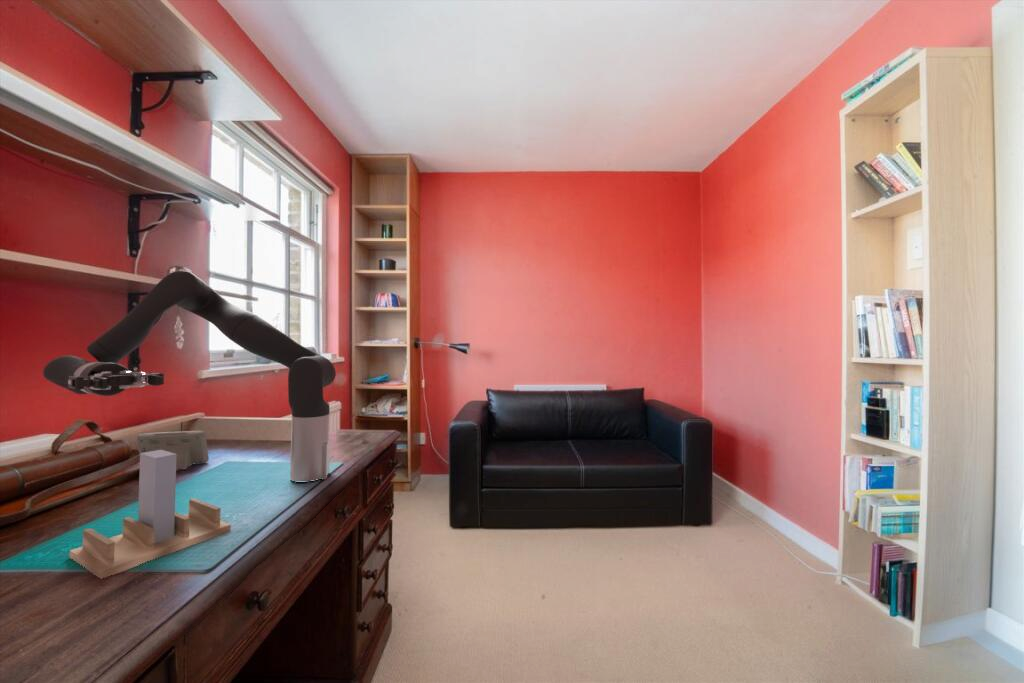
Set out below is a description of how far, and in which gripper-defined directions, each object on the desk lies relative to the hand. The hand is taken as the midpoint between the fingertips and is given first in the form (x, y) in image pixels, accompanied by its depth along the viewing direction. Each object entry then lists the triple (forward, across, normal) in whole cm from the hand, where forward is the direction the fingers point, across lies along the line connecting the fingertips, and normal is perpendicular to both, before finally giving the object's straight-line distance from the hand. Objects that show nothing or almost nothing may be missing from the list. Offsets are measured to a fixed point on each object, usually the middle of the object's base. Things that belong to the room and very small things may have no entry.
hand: (133, 382), depth 82 cm
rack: (+20, -3, +28) cm, 34 cm away
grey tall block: (+19, -3, +27) cm, 33 cm away
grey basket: (-31, +20, +28) cm, 46 cm away
